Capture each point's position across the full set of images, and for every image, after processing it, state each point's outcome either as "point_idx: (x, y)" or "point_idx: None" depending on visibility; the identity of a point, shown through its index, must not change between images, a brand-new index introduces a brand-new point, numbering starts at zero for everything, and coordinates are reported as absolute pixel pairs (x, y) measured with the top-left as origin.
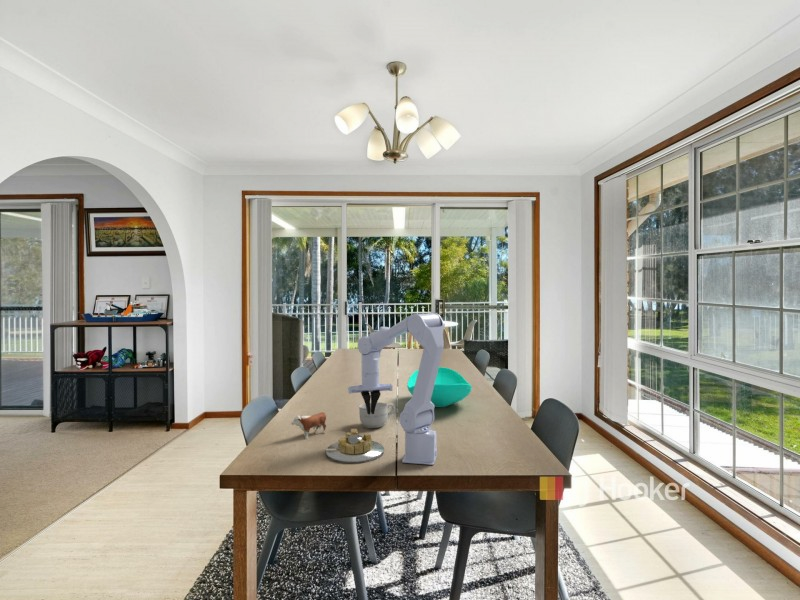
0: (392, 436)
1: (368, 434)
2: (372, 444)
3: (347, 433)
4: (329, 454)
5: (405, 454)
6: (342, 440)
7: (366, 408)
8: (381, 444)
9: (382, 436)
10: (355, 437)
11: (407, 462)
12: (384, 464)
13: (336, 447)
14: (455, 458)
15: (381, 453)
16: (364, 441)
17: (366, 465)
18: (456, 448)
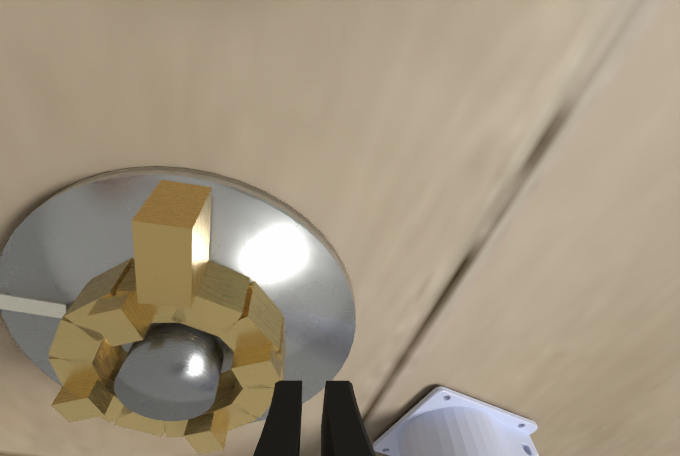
0: (513, 134)
1: (264, 376)
2: (302, 297)
3: (103, 328)
4: (36, 359)
5: (402, 449)
6: (78, 420)
7: (263, 428)
8: (354, 309)
9: (445, 107)
10: (167, 399)
11: (389, 453)
12: (303, 437)
13: (62, 284)
14: (575, 445)
15: (316, 390)
16: (219, 449)
17: (229, 432)
18: (666, 383)
